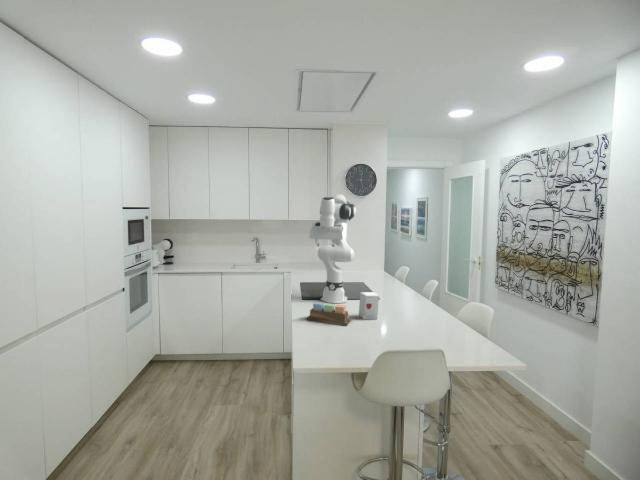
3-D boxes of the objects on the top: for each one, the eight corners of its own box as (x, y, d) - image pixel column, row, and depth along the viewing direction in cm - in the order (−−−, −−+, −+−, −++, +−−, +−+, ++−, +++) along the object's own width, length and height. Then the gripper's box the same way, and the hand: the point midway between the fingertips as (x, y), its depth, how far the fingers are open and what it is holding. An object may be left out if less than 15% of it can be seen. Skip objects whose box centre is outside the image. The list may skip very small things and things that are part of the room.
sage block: (326, 311, 233) (326, 303, 233) (334, 312, 232) (334, 304, 231) (323, 313, 228) (324, 305, 228) (332, 314, 227) (332, 306, 226)
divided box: (311, 316, 239) (312, 306, 238) (350, 321, 232) (351, 311, 231) (306, 320, 229) (306, 310, 229) (346, 326, 222) (347, 315, 222)
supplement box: (363, 320, 236) (365, 295, 234) (358, 315, 244) (359, 291, 243) (377, 319, 238) (379, 295, 237) (372, 315, 247) (373, 291, 246)
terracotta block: (336, 312, 231) (337, 304, 231) (345, 314, 230) (345, 305, 229) (334, 315, 226) (335, 306, 226) (343, 316, 225) (343, 307, 225)
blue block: (315, 310, 235) (315, 301, 235) (323, 311, 234) (323, 302, 233) (312, 312, 230) (313, 303, 230) (321, 313, 229) (321, 304, 228)
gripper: (342, 224, 244) (341, 247, 245) (309, 223, 241) (308, 245, 242) (344, 225, 237) (343, 247, 238) (310, 223, 235) (309, 246, 236)
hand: (325, 246), depth 240 cm, fingers open, 8 cm apart
